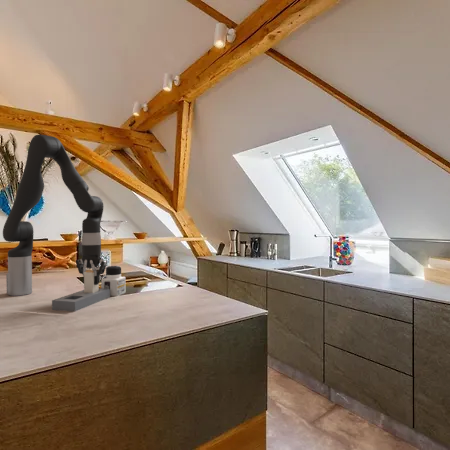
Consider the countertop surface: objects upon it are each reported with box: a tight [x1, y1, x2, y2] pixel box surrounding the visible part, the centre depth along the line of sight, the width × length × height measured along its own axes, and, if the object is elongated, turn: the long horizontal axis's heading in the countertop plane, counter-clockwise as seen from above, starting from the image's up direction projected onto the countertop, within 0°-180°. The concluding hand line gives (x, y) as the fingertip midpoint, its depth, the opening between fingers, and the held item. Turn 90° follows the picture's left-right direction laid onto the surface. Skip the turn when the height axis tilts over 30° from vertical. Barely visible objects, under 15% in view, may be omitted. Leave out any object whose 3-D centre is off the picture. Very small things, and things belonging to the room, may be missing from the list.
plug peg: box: [83, 268, 100, 293], centre depth 135 cm, size 4×4×11 cm
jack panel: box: [51, 288, 111, 312], centre depth 129 cm, size 10×22×4 cm, turn 167°
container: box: [100, 265, 127, 297], centre depth 145 cm, size 8×8×13 cm
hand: (91, 284), depth 135 cm, fingers closed on plug peg, 4 cm apart
